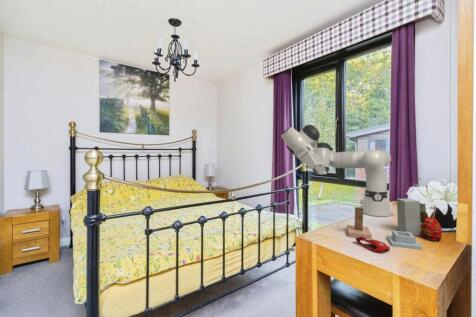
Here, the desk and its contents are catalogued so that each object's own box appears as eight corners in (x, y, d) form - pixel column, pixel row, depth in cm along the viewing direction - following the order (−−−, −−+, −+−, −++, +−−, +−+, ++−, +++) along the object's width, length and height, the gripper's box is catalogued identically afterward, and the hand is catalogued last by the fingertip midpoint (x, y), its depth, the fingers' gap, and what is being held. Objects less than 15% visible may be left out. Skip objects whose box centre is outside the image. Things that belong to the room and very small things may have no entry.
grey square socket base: (386, 237, 106) (386, 228, 106) (413, 240, 103) (413, 231, 103) (392, 246, 97) (392, 236, 97) (422, 249, 94) (422, 239, 93)
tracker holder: (387, 243, 98) (395, 246, 89) (384, 253, 98) (392, 258, 88) (355, 232, 102) (359, 234, 93) (352, 243, 101) (357, 246, 92)
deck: (346, 228, 118) (346, 224, 118) (367, 231, 115) (367, 226, 115) (348, 236, 107) (348, 232, 107) (371, 239, 104) (371, 235, 104)
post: (354, 228, 113) (355, 206, 113) (361, 228, 112) (362, 207, 112) (355, 230, 110) (355, 208, 110) (362, 230, 109) (363, 208, 109)
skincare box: (421, 236, 108) (422, 201, 108) (403, 235, 110) (404, 200, 109) (411, 230, 116) (413, 198, 116) (395, 229, 118) (396, 197, 117)
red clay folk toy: (416, 236, 108) (417, 203, 108) (427, 235, 110) (428, 202, 110) (434, 243, 101) (436, 207, 101) (446, 241, 103) (447, 206, 103)
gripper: (306, 157, 133) (323, 176, 129) (295, 156, 115) (315, 178, 111) (314, 149, 131) (333, 169, 126) (305, 147, 113) (326, 169, 109)
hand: (324, 173), depth 118 cm, fingers open, 8 cm apart
